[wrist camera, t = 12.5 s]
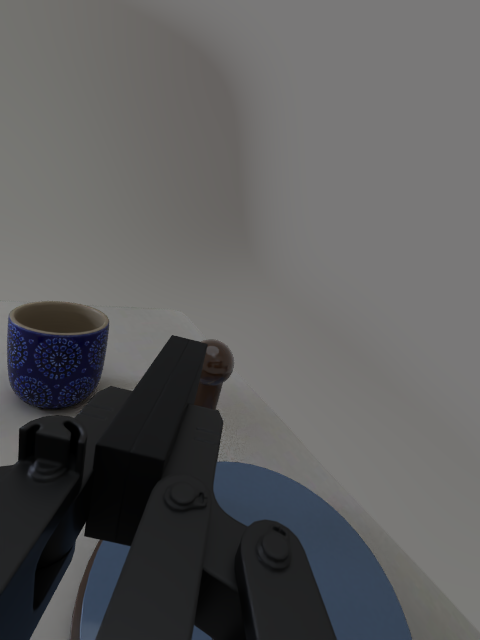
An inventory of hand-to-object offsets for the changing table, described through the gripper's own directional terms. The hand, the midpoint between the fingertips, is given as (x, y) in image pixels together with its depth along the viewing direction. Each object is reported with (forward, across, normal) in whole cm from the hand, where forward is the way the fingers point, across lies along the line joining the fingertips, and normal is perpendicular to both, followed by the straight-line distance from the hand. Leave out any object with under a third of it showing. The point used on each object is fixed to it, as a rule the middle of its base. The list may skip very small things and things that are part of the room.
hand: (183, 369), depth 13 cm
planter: (+25, -19, -22) cm, 38 cm away
